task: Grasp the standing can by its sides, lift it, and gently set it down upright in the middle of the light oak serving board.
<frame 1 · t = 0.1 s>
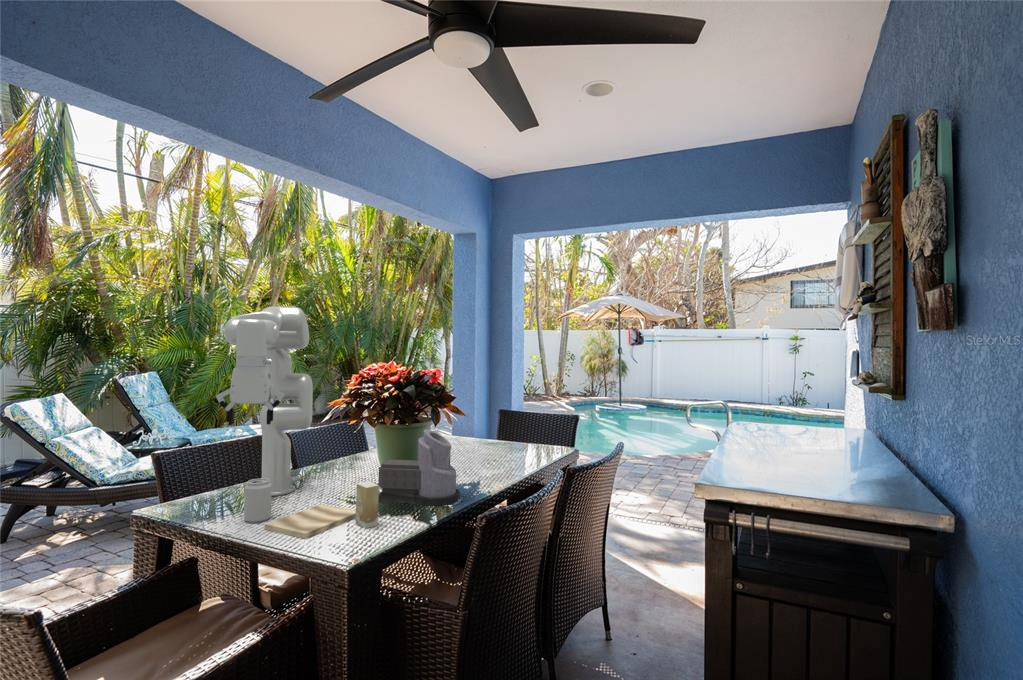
hand: (250, 424, 152), 31 cm above the table, tool pointing down, fingers open, 9 cm apart
can: (257, 520, 165), on the table
skincare box: (366, 525, 162), on the table
oak board: (314, 522, 163), on the table
juicer: (420, 500, 188), on the table
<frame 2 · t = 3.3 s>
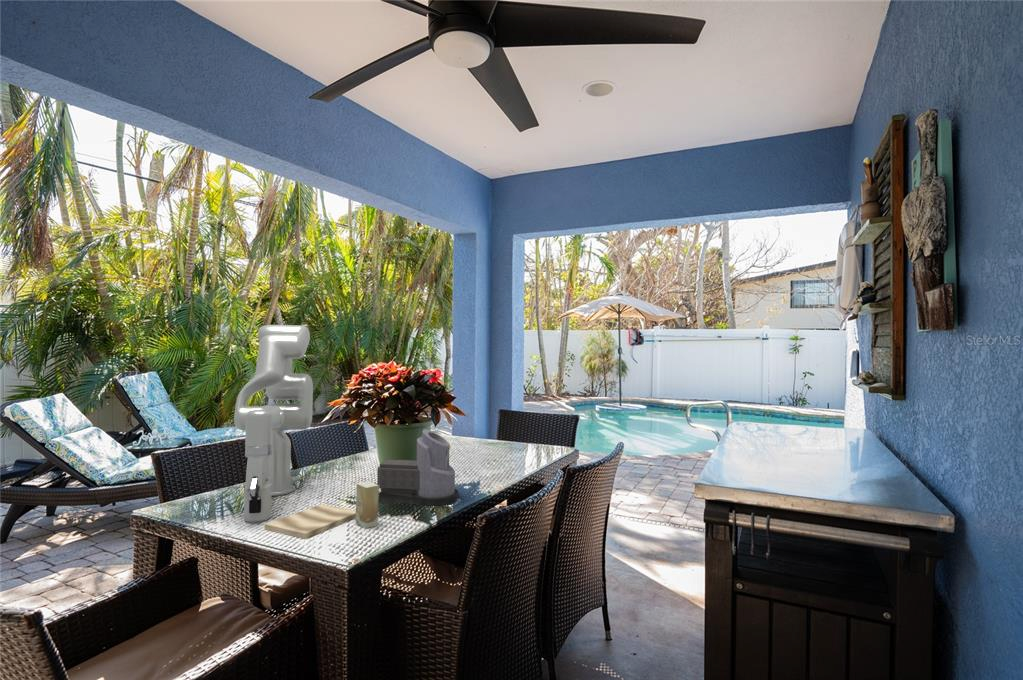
hand: (257, 508, 165), 3 cm above the table, tool pointing down, fingers closed on can, 7 cm apart
can: (257, 520, 165), on the table, touching gripper
everything else where it was.
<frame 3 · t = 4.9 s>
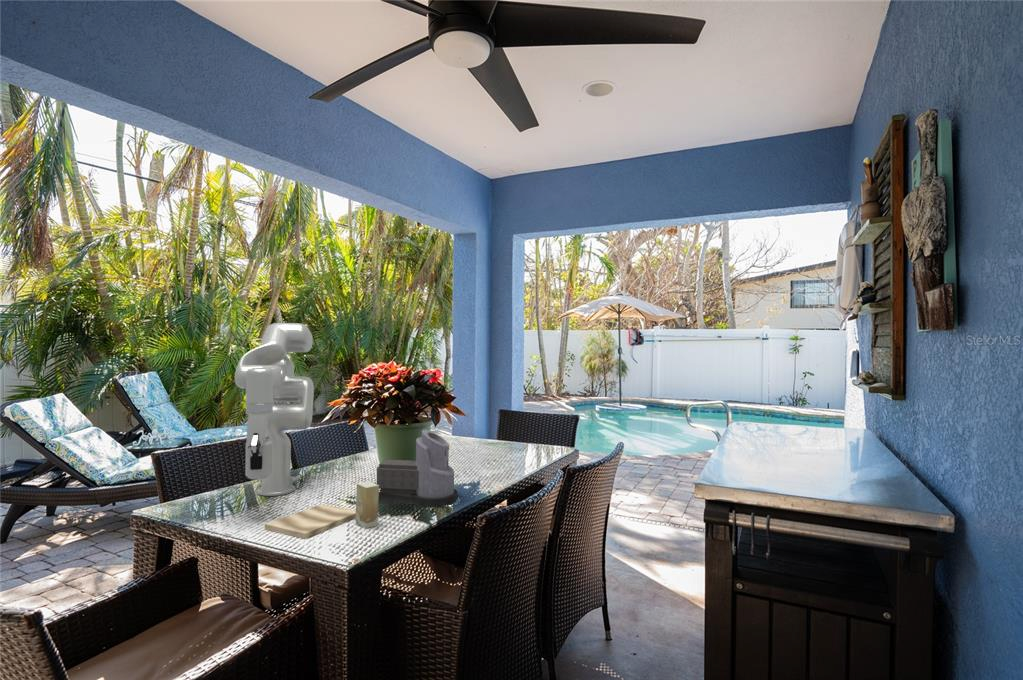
hand: (259, 465, 166), 16 cm above the table, tool pointing down, fingers closed on can, 7 cm apart
can: (258, 477, 166), point 13 cm above the table, touching gripper
everything else where it was.
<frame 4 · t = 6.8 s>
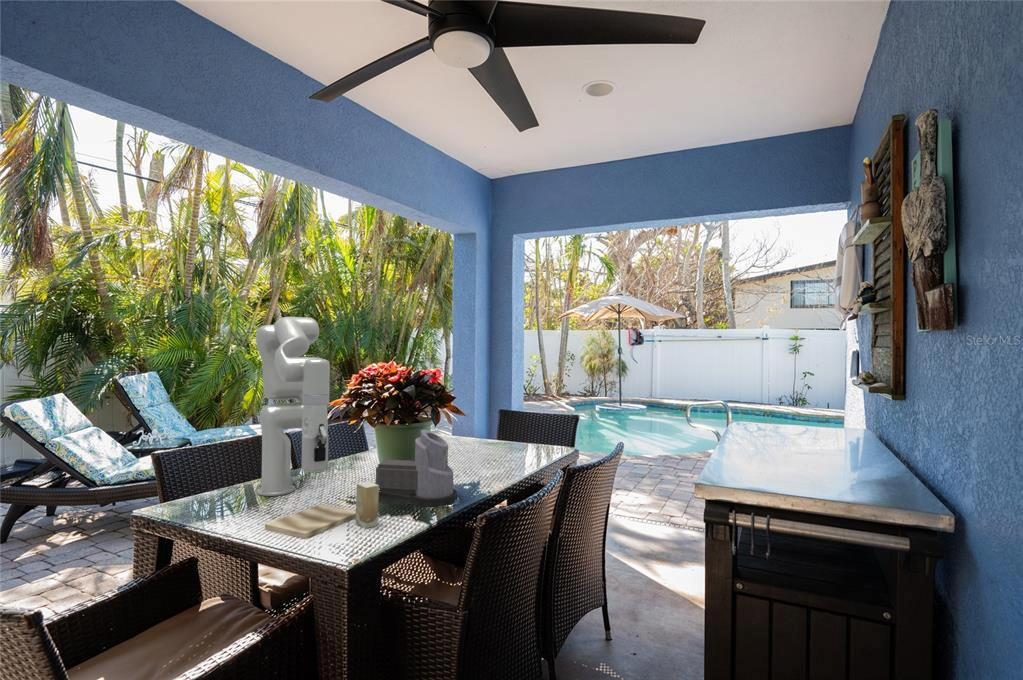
hand: (315, 458, 163), 19 cm above the table, tool pointing down, fingers closed on can, 7 cm apart
can: (314, 470, 163), point 16 cm above the table, touching gripper
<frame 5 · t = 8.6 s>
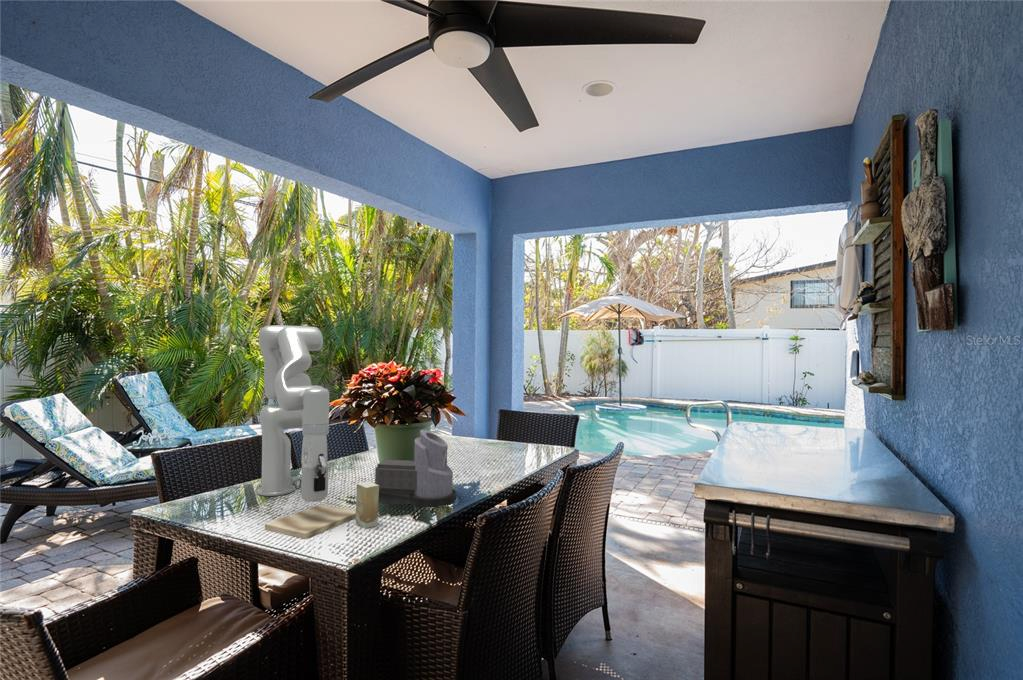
hand: (314, 487, 163), 11 cm above the table, tool pointing down, fingers closed on can, 7 cm apart
can: (314, 499, 163), point 7 cm above the table, touching gripper
when the fingers open (6 cm above the table, at t = 10.3 s): can drops 1 cm, resting on oak board.
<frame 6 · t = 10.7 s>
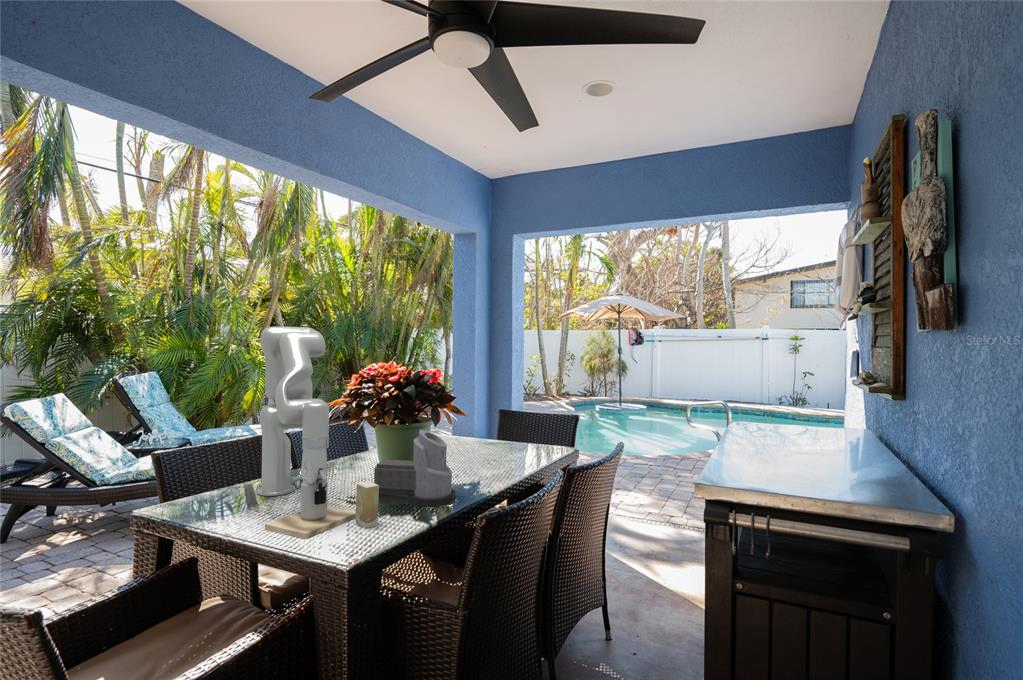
hand: (314, 499, 163), 7 cm above the table, tool pointing down, fingers open, 9 cm apart
can: (313, 517, 163), point 1 cm above the table, touching oak board
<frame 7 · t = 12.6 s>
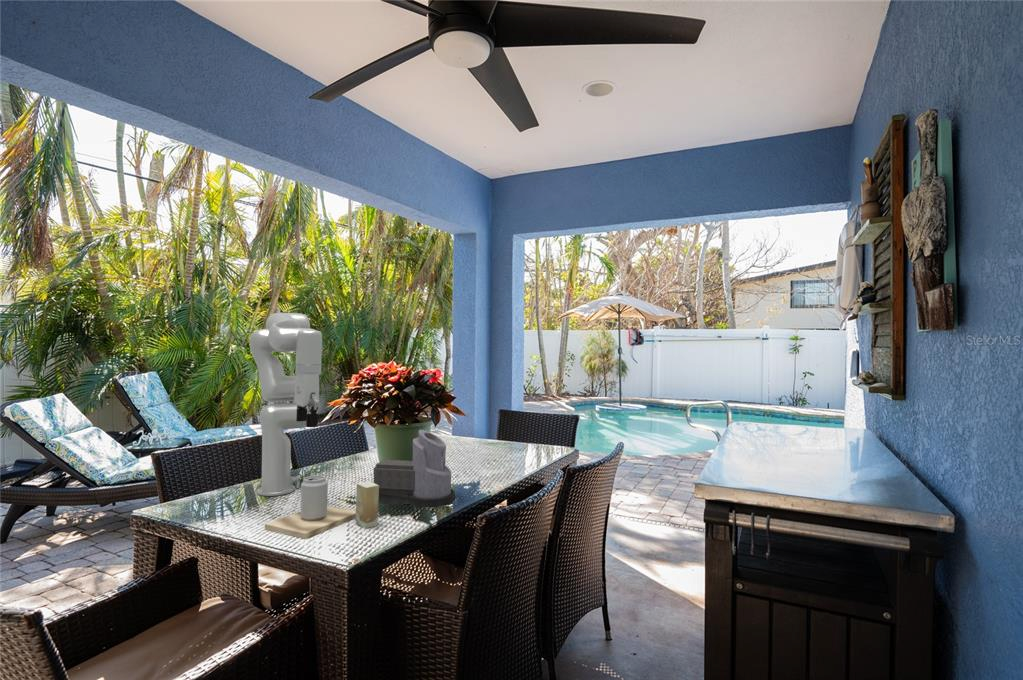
hand: (306, 423, 170), 29 cm above the table, tool pointing down, fingers open, 9 cm apart
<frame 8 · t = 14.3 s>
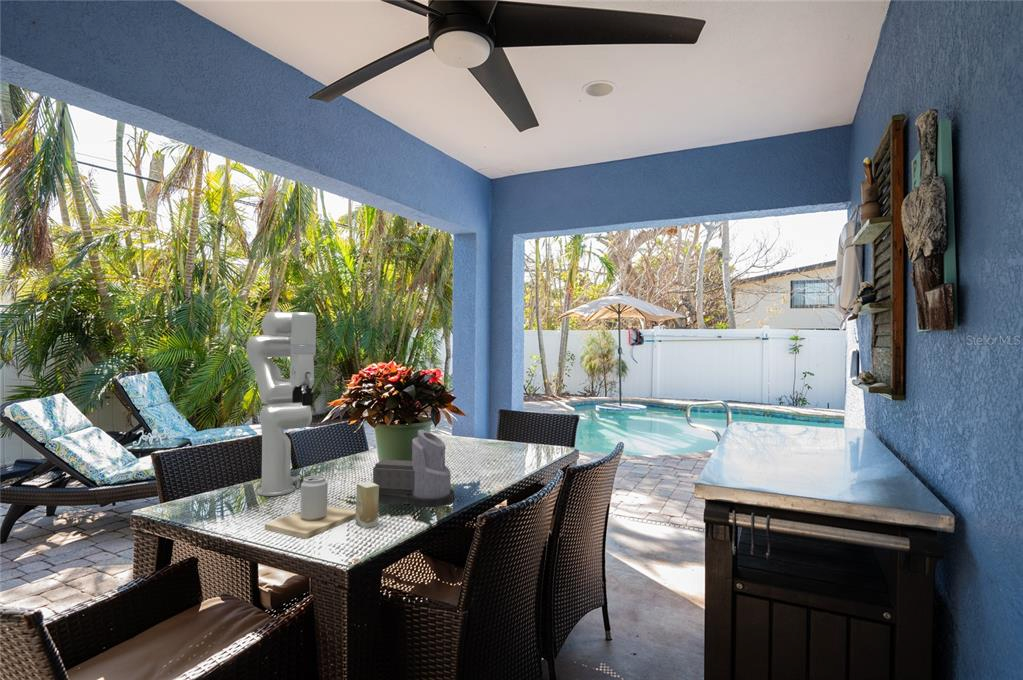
hand: (302, 404, 174), 34 cm above the table, tool pointing down, fingers open, 9 cm apart
at the end: can inside the target area on the oak board (0.2 cm from its centre), point 1.3 cm above the oak board's base; can tilted 0°; the gripper is holding nothing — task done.
